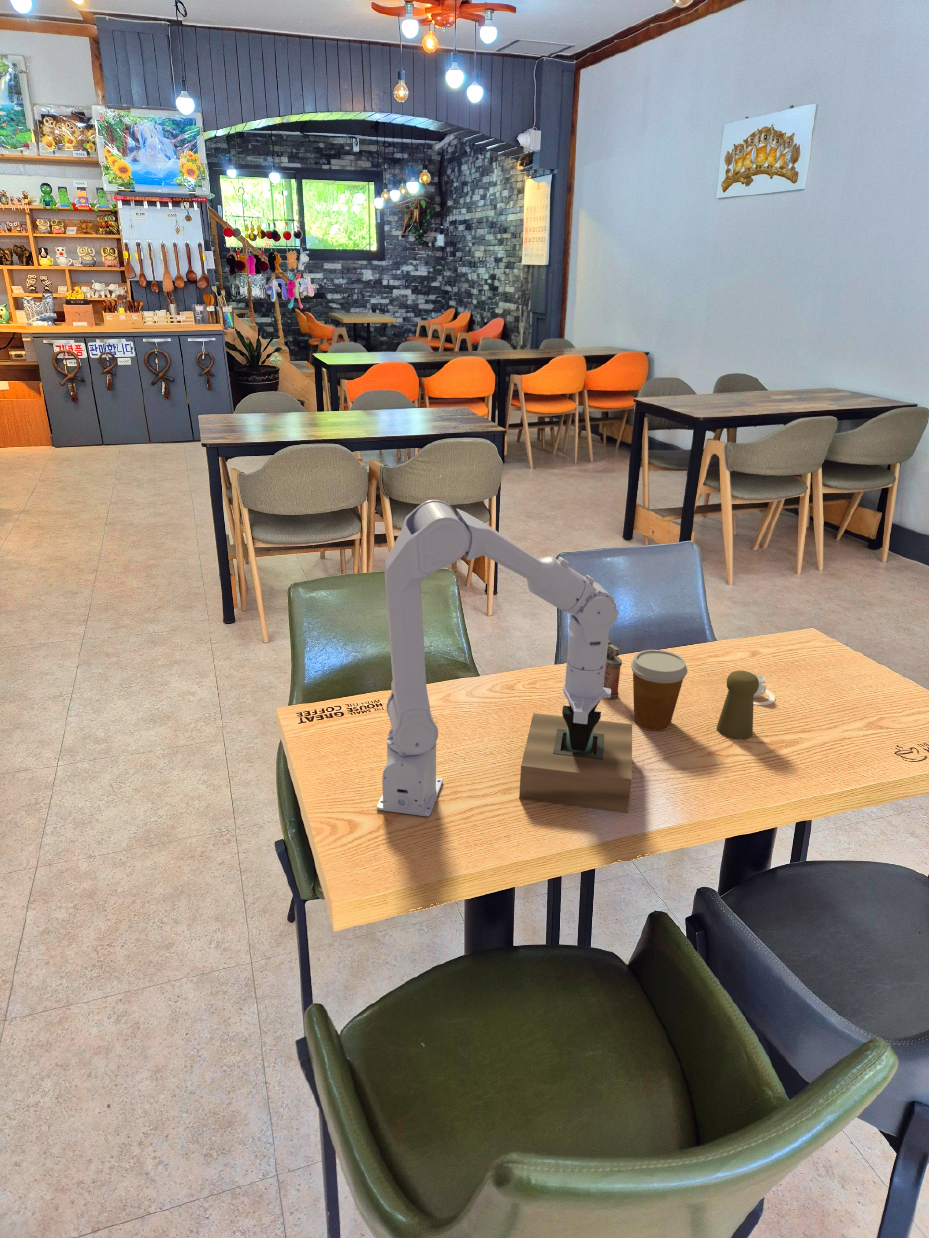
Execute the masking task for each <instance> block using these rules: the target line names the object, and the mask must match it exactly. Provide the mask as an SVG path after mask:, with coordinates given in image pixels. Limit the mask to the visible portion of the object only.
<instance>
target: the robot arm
mask: <svg viewBox="0 0 929 1238" xmlns="http://www.w3.org/2000/svg"><path fill="white" fill-rule="evenodd" d="M456 511H457V513H458V516H457V515H456V512H455V510H454V508H453V507H452V506H451V505H450V504H449V503H447V501H446V502H445V501H443V500H441V499H430V500H426V501H423V502H422V503H421V504H419V505H418V506H417V507H416V508H414V509H413V510H412V511H411V512H410V513H408V514H407V515H406V516H405V519H404V521H403V524H402V526H401V530H400V532H399V533H398V536H397V537H396V540H395V542H394V543H393V545H392V548H391V549H390V551H389V553H388V555H387V557H385V558H386V559H385V561H384V567H383V571H384V582H385V595H386V596H385V597H386V609H387V610H386V611H387V623H388V626H387V627H388V637H389V638H388V639H389V650H390V662H391V663H390V664H391V673H392V674H391V675H392V681H391V682H390V685H391V686H390V687H391V689H390V695H389V697H388V699H387V702H386V713H387V715H388V717H389V722H390V725H391V728H390V730H389V731H388V734H387V737H386V757H387V758H386V759H387V761H386V765H385V767H384V770H383V772H382V794H381V795H380V798H379V800H378V802H377V804H376V809H377V810H378V811H384V812H392V813H398V814H400V813H401V814H407V815H414V816H421V817H430V816H431V813H432V811H433V809H434V806H435V803H436V802H437V801H436V800H437V798H438V795H439V793H440V790H441V787H442V784H443V782H444V779H443V778H442V777H438V776H437V742H438V741H437V740H438V737H439V729H438V726H437V724H436V722H435V721H434V717H433V714H432V711H431V705H430V700H429V693H428V689H427V673H426V672H427V671H426V659H425V658H426V657H425V639H424V638H425V637H424V624H423V623H424V621H423V606H422V605H423V604H422V588H421V587H422V586H421V584H422V582H424V580H426V579H427V578H428V577H429V576H430V575H432V574H433V573H435V572H437V571H440V570H441V569H444V568H446V567H447V566H450V565H452V564H453V563H455V562H457V561H459V560H460V559H462V557H465V560H466V561H471V560H474V559H477V558H480V557H482V556H483V557H486V558H488V559H489V560H492V561H494V562H495V563H497V564H498V565H500V566H502V567H504V568H506V569H508V570H510V571H512V572H513V573H515V574H516V575H517V574H518V575H519V576H521V577H523V578H524V579H526V583H527V587H528V591H529V592H530V593H532V594H533V595H535V596H537V597H538V598H540V599H542V600H544V601H545V602H547V603H549V604H550V605H552V606H554V607H555V608H557V609H559V610H561V611H562V612H564V613H566V614H571V615H570V619H569V621H570V622H569V624H570V625H569V632H568V640H567V641H568V643H567V655H566V656H567V657H566V658H567V659H566V669H565V679H564V685H563V688H562V689H563V695H564V696H565V699H566V700H567V702H568V705H563V706H562V712H561V713H562V714H561V716H563V718H564V720H565V721H566V724H567V726H568V730H569V737H570V744H571V748H572V750H579V751H585V750H586V748H587V745H588V742H589V739H590V735H591V733H592V730H593V728H594V727H595V725H596V724H597V723H598V721H599V720H600V721H601V716H602V715H601V714H602V712H601V711H596V709H597V707H598V705H599V703H600V702H601V701H602V700H603V699H606V698H610V697H611V689H610V688H604V678H605V668H606V659H607V648H608V640H609V638H610V637H609V634H610V628H611V627H612V626H613V625H614V623H615V622H616V621H617V619H618V616H619V612H620V610H618V609H617V604H616V601H615V599H614V597H613V596H612V595H611V594H610V593H609V592H608V591H607V590H606V589H605V588H604V587H603V586H602V585H601V584H600V583H598V582H596V580H595V578H593V577H592V576H590V575H589V574H586V575H585V576H584V575H582V574H581V573H579V572H577V571H576V570H575V569H573V568H571V567H569V566H570V562H569V561H568V560H566V559H565V558H563V557H562V556H558V558H557V559H556V557H553V556H551V555H549V556H543V557H539V558H538V557H536V556H535V555H533V554H531V553H530V552H529V551H527V550H525V549H524V548H523V547H521V546H520V545H518V544H516V543H515V542H514V541H512V539H511V540H510V539H509V538H508V537H506V536H505V535H503V534H502V533H500V532H498V531H497V530H496V529H494V528H493V527H491V526H490V525H488V524H486V523H485V522H484V521H481V520H480V519H478V518H477V517H474V516H473V515H471V514H470V513H468V512H466V511H464V510H461V509H459V508H456Z"/></svg>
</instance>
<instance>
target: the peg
mask: <svg viewBox="0 0 929 1238" xmlns="http://www.w3.org/2000/svg"><path fill="white" fill-rule="evenodd" d="M593 733H594V728H593V730H592V733H591V735H590V739H589V742H588V745H587V748H586V750H585V751H579V750H572V748H571V744H570V737H569V730H568V726H567V739H566V751H569V752H577V753H585V754H591V752H592V743H593Z"/></svg>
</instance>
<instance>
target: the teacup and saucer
mask: <svg viewBox="0 0 929 1238" xmlns="http://www.w3.org/2000/svg"><path fill="white" fill-rule="evenodd" d="M753 674H754V675H755V676H756V677H757V678H758V681H759V687H758V690H757V692H756V693H755V694H754V699H758V698H760V697H762V696H763V695H764V694H767V696H768V700H766V701H760V702H758V701H757V702H756V701H755V702H753V706H767V705H771V704H773V703H774V702H775V701H776V696H775V694H774V693H773V692H771V691H770V690H769V689H767V686H766V685H765V683H766V681H767V679H766V677H765V676H763V675H761V674H757V673H753Z"/></svg>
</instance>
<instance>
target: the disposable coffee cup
mask: <svg viewBox="0 0 929 1238" xmlns="http://www.w3.org/2000/svg"><path fill="white" fill-rule="evenodd" d="M686 665H687V664H686V660H685V659H684V658H683V657H682V656H680V655H678V654H676V653H674V652H672V651H667V650H664V649H663V650H661V649H660V650H659V649H645V650H641V651H639V652H637V653H636V654H635V655H634V657H633V659H632V660H631V663H630V668H631V671H632V688H633V689H632V691H633V720H634V723H635V724H636V725H637V726H639V727H641V728H642V729H646V730H649V731H663V730H667V729H668V728H669V727H670V726H671V723H672V719H673V716H674V712H675V709H676V706H677V703H678V699H679V695H680V692H681V688H682V684H683V682H684V679H685V677H686V675H688V670H689V669H688V668H687V666H686Z"/></svg>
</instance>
